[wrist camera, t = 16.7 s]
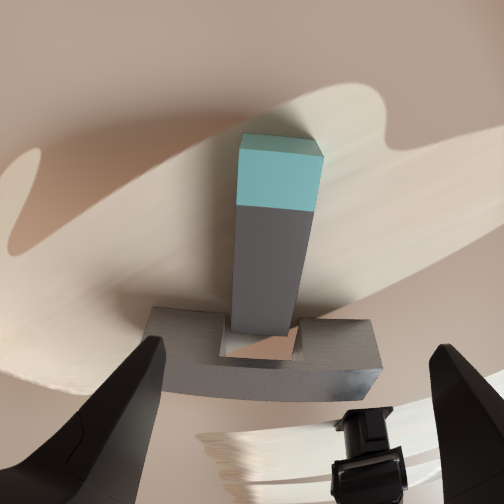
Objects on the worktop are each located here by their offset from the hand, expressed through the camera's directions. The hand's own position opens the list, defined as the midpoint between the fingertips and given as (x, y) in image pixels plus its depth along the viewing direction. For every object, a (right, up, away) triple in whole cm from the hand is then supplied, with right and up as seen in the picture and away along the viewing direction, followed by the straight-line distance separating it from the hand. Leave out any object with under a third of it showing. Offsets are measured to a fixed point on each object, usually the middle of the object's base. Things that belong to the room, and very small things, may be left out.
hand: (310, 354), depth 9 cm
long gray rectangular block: (-1, -4, +17) cm, 18 cm away
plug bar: (-1, +4, +11) cm, 12 cm away
